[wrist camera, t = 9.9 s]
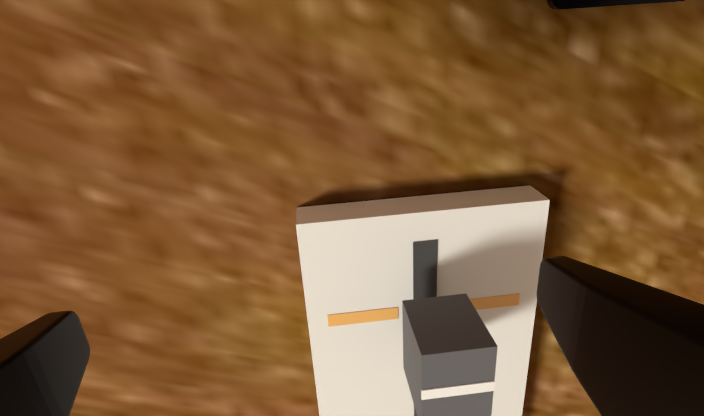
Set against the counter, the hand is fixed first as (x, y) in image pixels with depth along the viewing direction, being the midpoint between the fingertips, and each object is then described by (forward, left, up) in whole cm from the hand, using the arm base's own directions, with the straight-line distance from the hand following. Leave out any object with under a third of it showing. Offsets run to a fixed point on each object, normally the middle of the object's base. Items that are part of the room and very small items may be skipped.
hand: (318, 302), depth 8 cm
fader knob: (-5, +9, -11) cm, 15 cm away
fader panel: (-5, +14, -13) cm, 20 cm away
